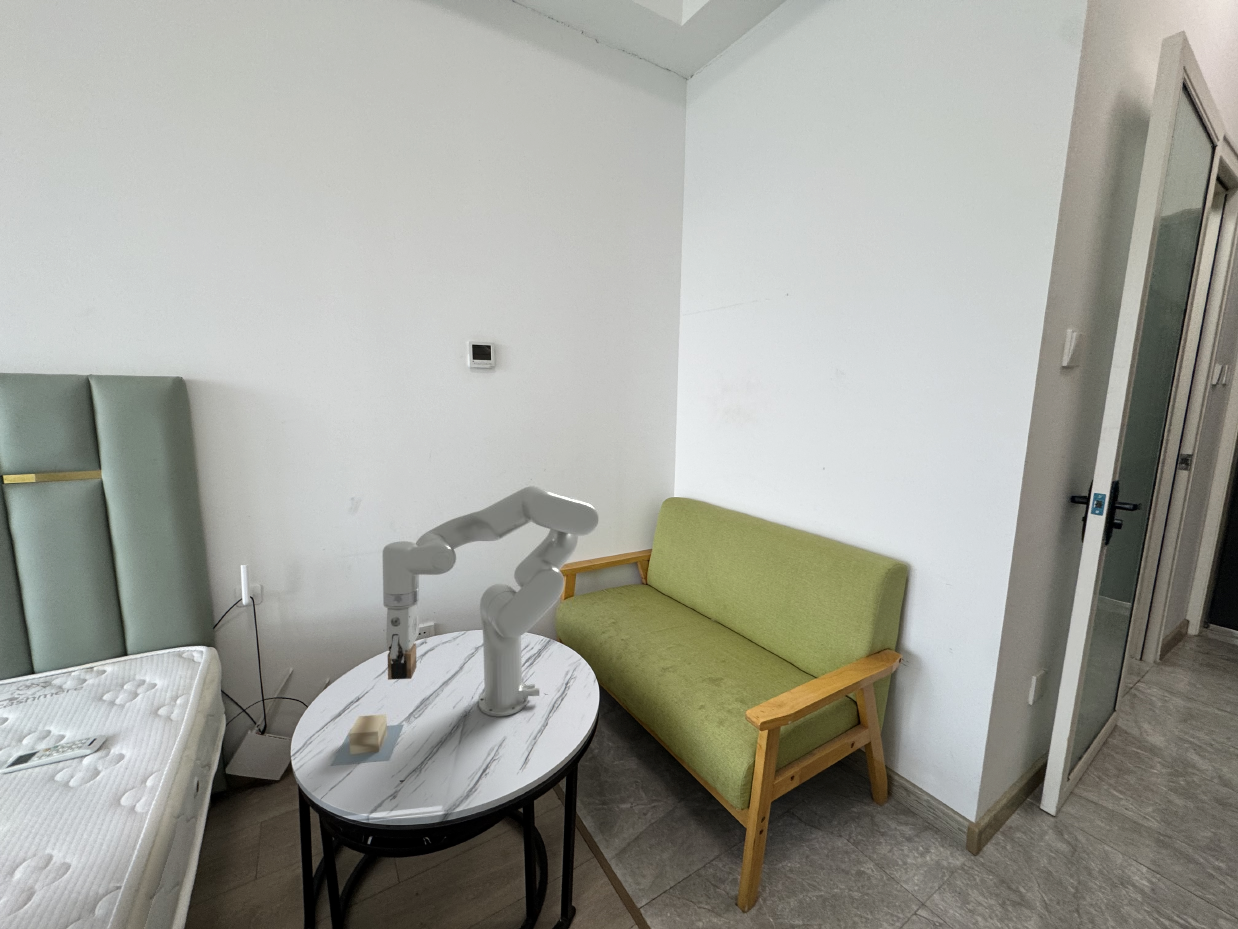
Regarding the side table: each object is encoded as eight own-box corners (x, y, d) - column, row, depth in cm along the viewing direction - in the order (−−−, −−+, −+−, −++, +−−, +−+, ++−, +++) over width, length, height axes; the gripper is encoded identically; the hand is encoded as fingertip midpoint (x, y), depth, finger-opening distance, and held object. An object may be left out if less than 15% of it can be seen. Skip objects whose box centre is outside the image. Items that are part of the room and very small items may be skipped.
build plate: (404, 726, 121) (404, 724, 121) (389, 762, 110) (389, 760, 110) (351, 731, 120) (351, 728, 120) (330, 768, 108) (330, 765, 108)
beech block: (387, 733, 118) (386, 714, 117) (379, 751, 112) (377, 731, 111) (360, 736, 117) (358, 716, 116) (350, 754, 111) (348, 733, 111)
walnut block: (416, 667, 120) (416, 643, 119) (411, 678, 115) (410, 654, 114) (394, 668, 119) (393, 644, 118) (387, 679, 114) (387, 654, 113)
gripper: (408, 611, 107) (410, 691, 109) (427, 582, 124) (427, 652, 126) (371, 612, 106) (373, 693, 108) (394, 583, 122) (396, 653, 125)
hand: (402, 670), depth 117 cm, fingers closed on walnut block, 5 cm apart
